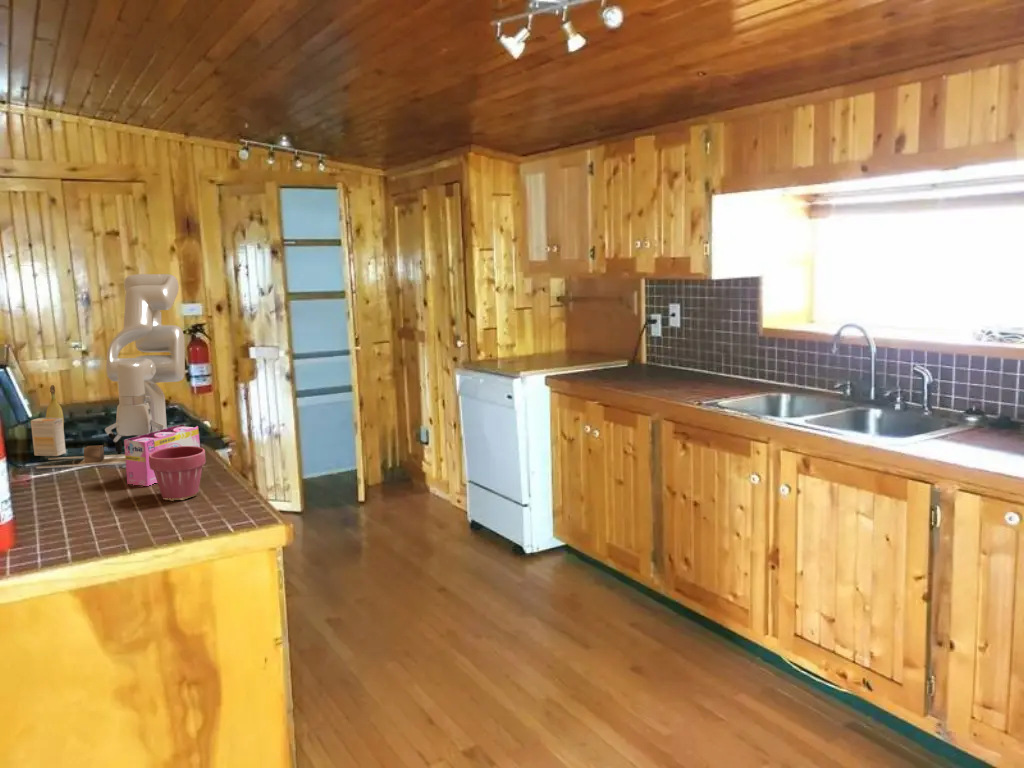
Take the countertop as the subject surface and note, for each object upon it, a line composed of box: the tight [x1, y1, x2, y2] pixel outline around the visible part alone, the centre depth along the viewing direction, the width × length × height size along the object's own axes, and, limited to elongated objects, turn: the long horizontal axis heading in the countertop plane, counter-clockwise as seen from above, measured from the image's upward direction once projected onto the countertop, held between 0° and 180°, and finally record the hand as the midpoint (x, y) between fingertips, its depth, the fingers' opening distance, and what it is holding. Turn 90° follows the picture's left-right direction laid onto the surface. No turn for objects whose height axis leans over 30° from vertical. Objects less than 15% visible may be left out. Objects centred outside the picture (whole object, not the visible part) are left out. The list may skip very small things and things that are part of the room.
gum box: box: [123, 424, 201, 487], centre depth 239 cm, size 24×8×14 cm, turn 160°
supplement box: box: [30, 417, 67, 457], centre depth 260 cm, size 8×5×13 cm, turn 84°
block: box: [83, 444, 105, 463], centre depth 252 cm, size 4×4×4 cm
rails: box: [35, 453, 126, 469], centre depth 252 cm, size 30×12×2 cm, turn 102°
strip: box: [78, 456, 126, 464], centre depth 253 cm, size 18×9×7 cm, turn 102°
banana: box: [45, 384, 65, 429], centre depth 277 cm, size 23×6×20 cm, turn 23°
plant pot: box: [149, 446, 207, 499], centre depth 218 cm, size 14×14×13 cm
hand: (136, 452), depth 255 cm, fingers open, 9 cm apart
